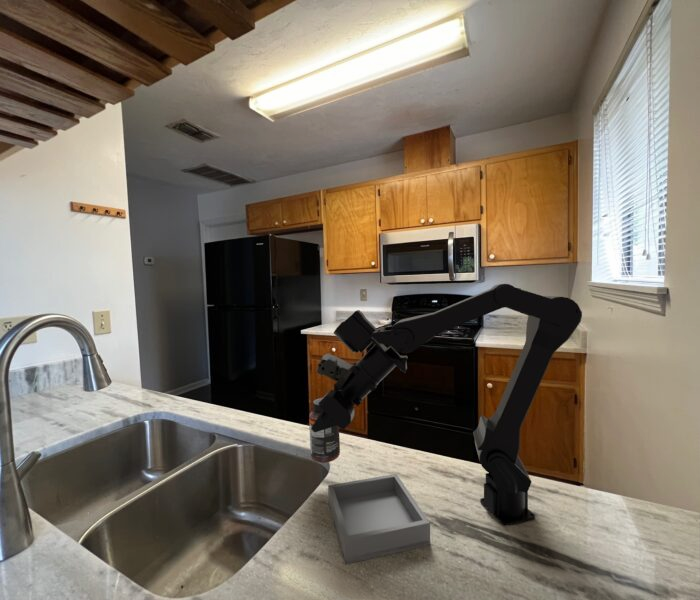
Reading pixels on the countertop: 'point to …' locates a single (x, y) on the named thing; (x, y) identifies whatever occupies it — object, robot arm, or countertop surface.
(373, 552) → the tray
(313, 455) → the supplement bottle
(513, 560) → the countertop surface
